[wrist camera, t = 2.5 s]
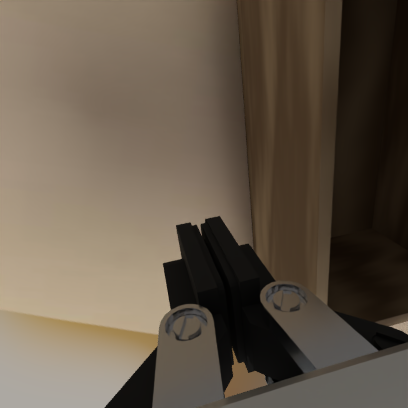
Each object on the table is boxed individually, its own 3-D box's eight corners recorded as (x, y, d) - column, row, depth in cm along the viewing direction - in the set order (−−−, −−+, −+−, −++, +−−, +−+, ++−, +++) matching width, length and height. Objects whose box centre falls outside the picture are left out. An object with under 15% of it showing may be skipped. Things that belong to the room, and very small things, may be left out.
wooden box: (402, -32, 24) (615, -122, 13) (372, 229, 34) (483, 299, 23) (235, -16, 22) (328, -107, 12) (254, 257, 32) (314, 347, 21)
